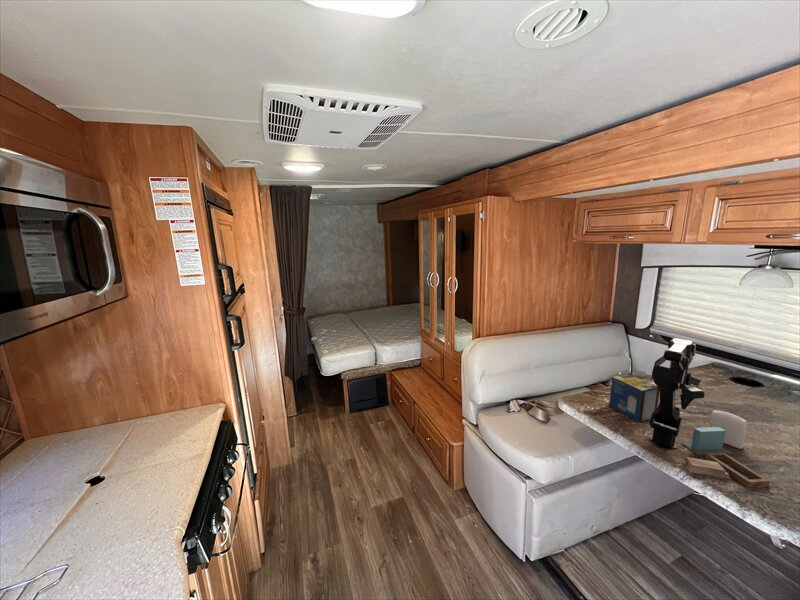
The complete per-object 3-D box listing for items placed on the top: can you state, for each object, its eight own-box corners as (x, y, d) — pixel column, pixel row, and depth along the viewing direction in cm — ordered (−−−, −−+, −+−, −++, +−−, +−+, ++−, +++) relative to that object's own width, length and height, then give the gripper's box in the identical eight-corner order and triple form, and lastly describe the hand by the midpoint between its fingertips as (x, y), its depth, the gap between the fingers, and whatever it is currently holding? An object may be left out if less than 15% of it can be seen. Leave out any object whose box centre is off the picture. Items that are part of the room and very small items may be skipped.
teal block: (722, 449, 120) (725, 430, 119) (697, 450, 120) (700, 431, 118) (715, 445, 122) (719, 427, 121) (691, 446, 122) (694, 428, 121)
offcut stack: (681, 463, 114) (683, 456, 114) (719, 470, 111) (721, 462, 110) (689, 472, 110) (690, 465, 109) (729, 480, 106) (730, 472, 106)
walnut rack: (747, 487, 102) (748, 482, 102) (704, 458, 116) (705, 453, 116) (768, 486, 102) (769, 481, 102) (723, 457, 116) (724, 452, 116)
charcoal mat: (698, 455, 118) (698, 454, 117) (681, 443, 124) (681, 442, 124) (731, 454, 118) (731, 453, 118) (712, 442, 125) (713, 441, 125)
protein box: (624, 402, 157) (628, 373, 154) (656, 418, 142) (660, 387, 140) (608, 405, 155) (611, 376, 152) (638, 422, 140) (642, 390, 137)
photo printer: (705, 436, 129) (710, 409, 127) (709, 433, 131) (714, 406, 129) (741, 450, 120) (746, 421, 118) (744, 446, 122) (750, 418, 120)
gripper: (721, 377, 119) (714, 414, 121) (677, 359, 137) (672, 392, 140) (693, 378, 118) (687, 415, 121) (652, 360, 137) (648, 393, 140)
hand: (673, 403), depth 130 cm, fingers open, 9 cm apart
